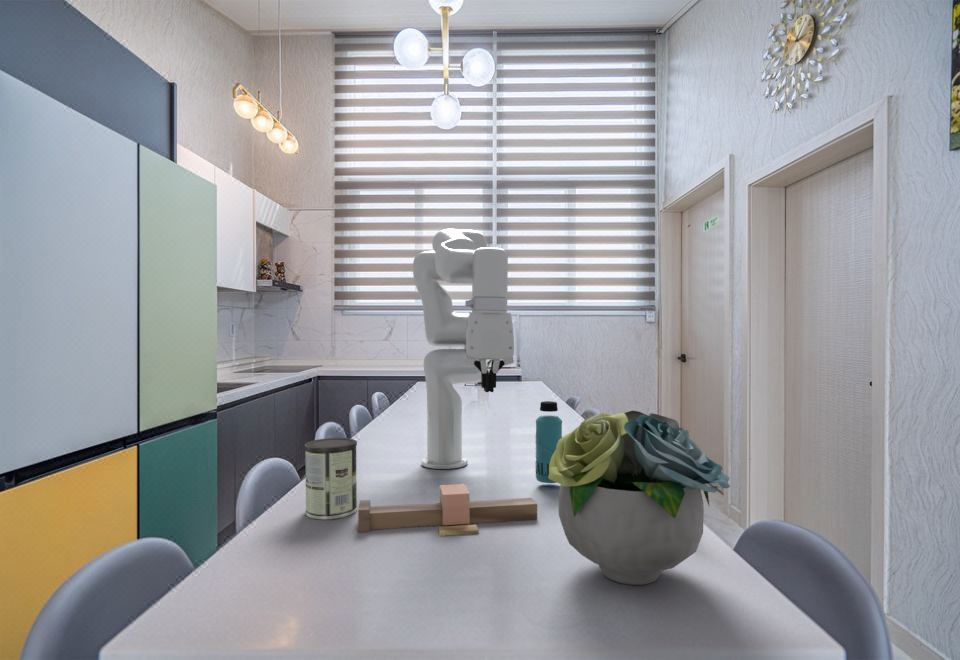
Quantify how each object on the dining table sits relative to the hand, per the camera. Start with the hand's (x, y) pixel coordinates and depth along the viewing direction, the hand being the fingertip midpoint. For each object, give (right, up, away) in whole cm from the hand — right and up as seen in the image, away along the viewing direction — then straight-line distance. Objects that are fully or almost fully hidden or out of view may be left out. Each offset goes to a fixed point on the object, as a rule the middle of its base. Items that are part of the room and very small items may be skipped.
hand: (488, 391), depth 121 cm
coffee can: (-32, -24, -7) cm, 41 cm away
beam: (-7, -24, -13) cm, 28 cm away
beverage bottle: (+14, -24, +11) cm, 30 cm away
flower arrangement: (+21, -24, -36) cm, 48 cm away
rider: (-7, -24, -13) cm, 28 cm away
